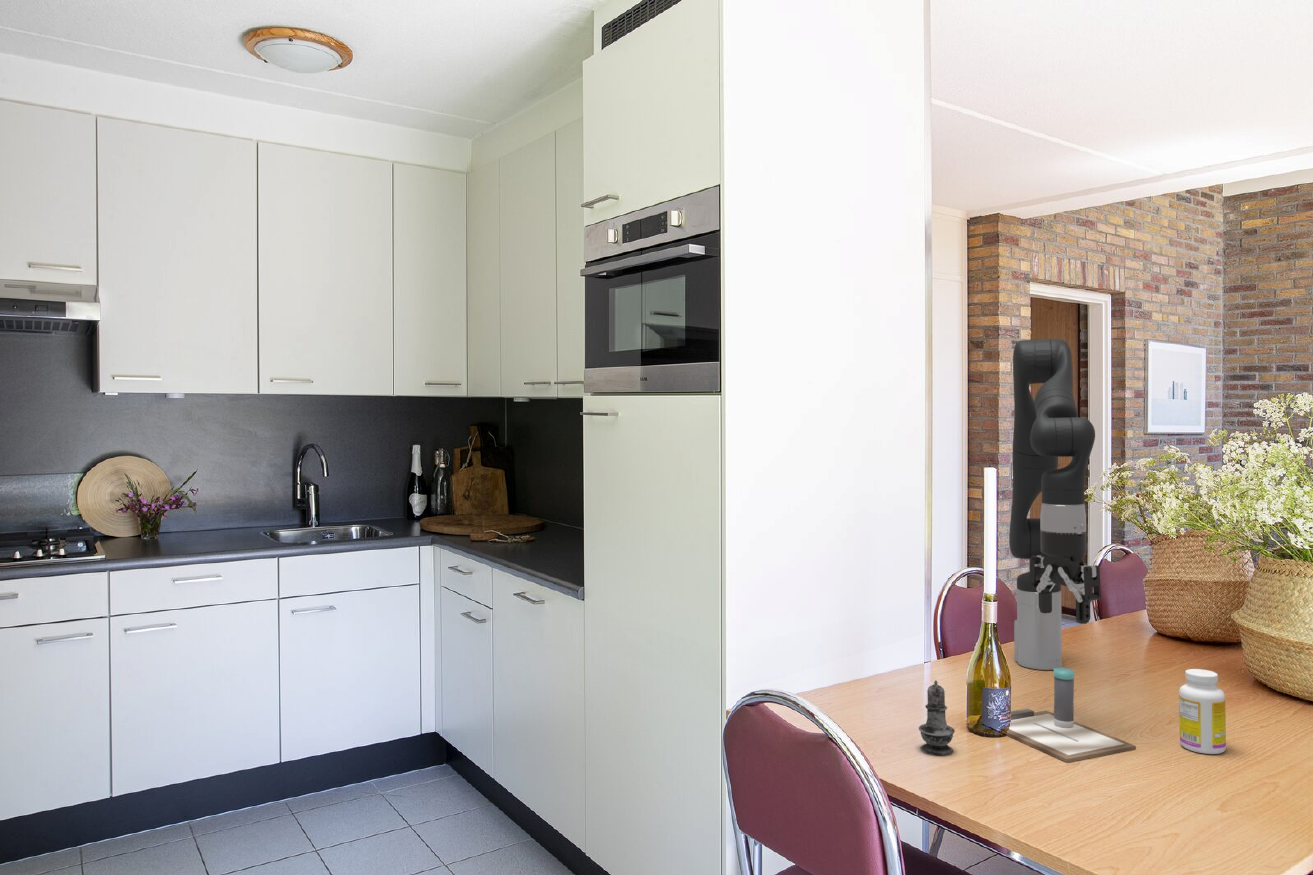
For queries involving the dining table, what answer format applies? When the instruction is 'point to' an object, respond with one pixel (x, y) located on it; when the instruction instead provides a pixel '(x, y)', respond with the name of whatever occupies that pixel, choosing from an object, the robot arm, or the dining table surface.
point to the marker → (1063, 697)
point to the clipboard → (1062, 737)
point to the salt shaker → (936, 724)
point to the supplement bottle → (1202, 713)
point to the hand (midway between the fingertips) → (1063, 617)
